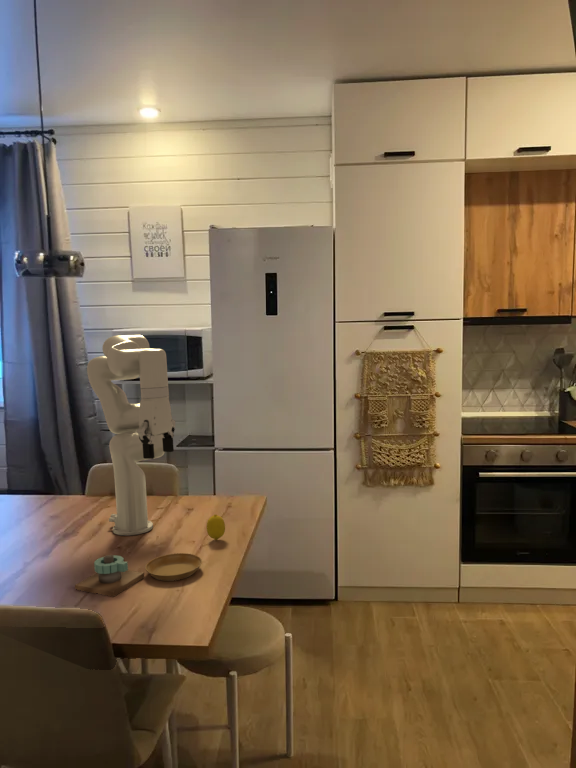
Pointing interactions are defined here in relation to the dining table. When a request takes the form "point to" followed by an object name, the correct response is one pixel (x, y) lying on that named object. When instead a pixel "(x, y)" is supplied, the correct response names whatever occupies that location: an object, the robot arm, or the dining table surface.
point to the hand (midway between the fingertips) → (158, 454)
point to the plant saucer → (173, 566)
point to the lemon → (215, 527)
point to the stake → (109, 581)
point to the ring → (110, 565)
